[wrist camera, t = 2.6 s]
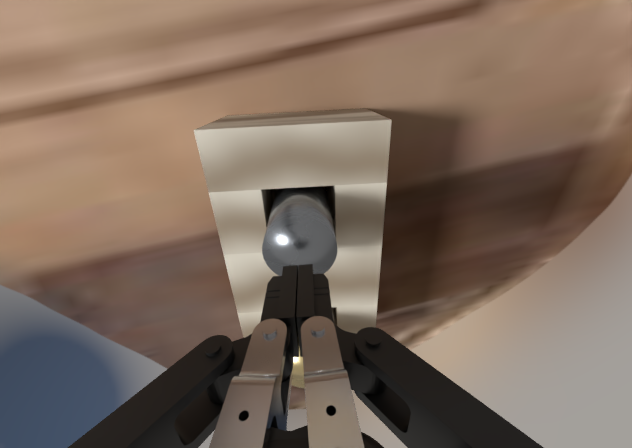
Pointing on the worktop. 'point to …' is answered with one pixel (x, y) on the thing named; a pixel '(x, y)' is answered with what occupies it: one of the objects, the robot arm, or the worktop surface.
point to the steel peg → (300, 230)
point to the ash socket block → (292, 172)
